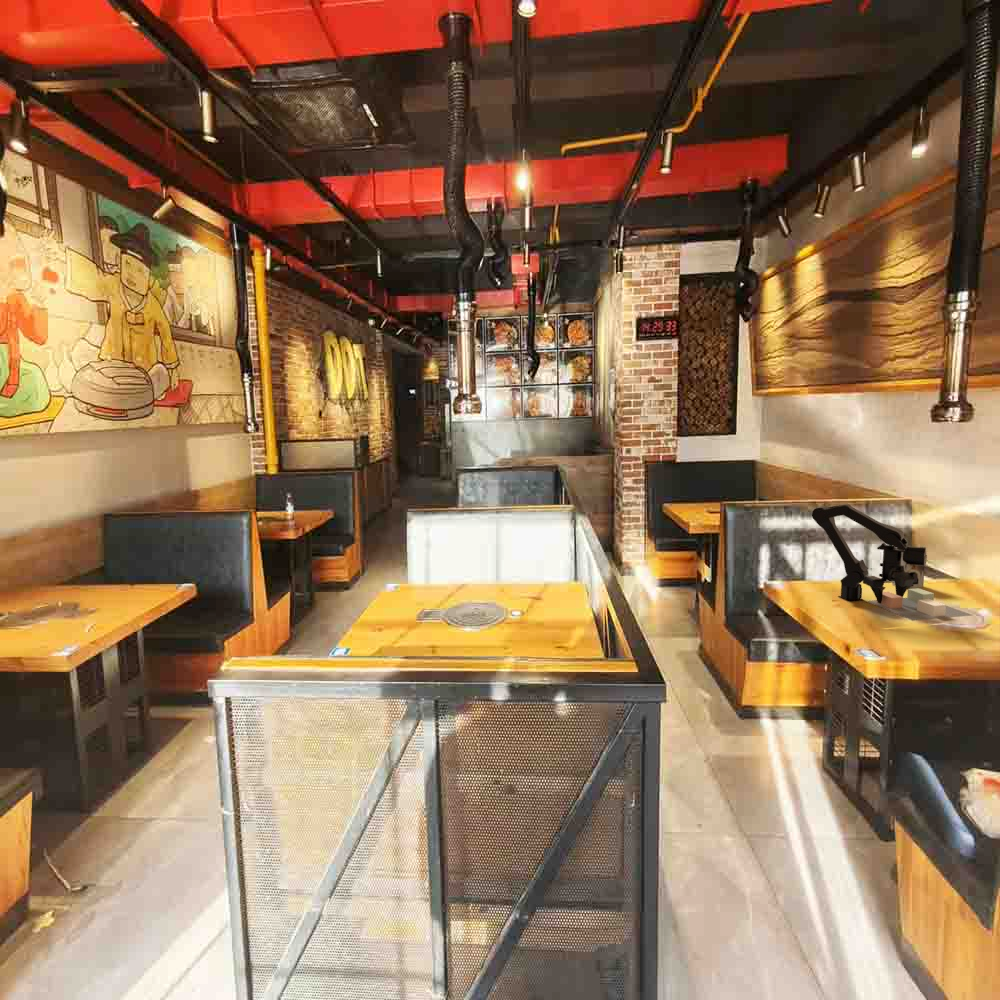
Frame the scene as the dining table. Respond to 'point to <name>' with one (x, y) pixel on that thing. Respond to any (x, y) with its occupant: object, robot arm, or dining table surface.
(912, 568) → the coffee box
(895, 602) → the terracotta brick
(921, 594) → the sage brick
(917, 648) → the dining table surface
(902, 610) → the baseplate
